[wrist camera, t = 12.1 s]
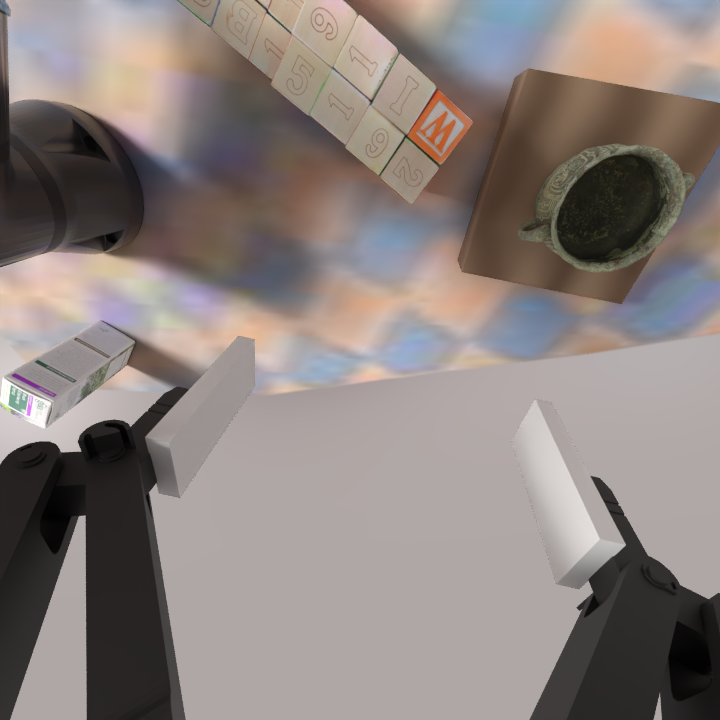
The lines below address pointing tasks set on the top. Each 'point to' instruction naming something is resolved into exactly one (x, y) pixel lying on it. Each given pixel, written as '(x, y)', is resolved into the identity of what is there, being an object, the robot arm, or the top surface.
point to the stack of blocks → (345, 82)
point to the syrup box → (65, 374)
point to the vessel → (608, 206)
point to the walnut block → (557, 145)
